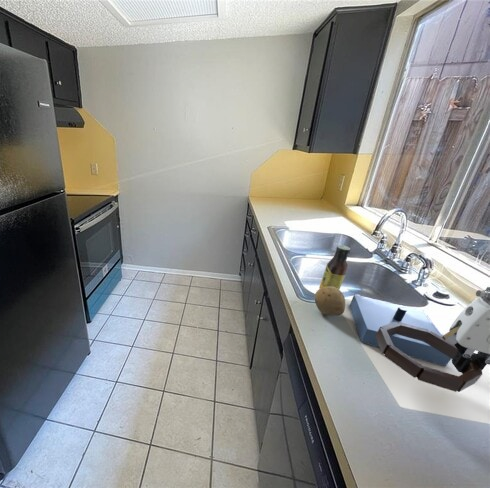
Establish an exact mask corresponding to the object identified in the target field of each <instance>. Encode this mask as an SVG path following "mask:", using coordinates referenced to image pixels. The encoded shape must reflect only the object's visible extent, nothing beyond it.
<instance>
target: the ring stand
mask: <svg viewBox="0 0 490 488" xmlns="http://www.w3.org/2000/svg"><path fill="white" fill-rule="evenodd" d="M349 310H350V312H351V316H352V318H353V322H354V324H355V327H356V330H357V334H358V336H359V339H360V342H361V343H363V344H367V345H369V346H374V347H377V348H380V347H379V345H378V342H377V340H376V337H375V336H376V334H377V332H378V330H379V328H380V327H381V326H384V325H387V324H390V323H393V322H401V323H405V324H409V325H412V326H416V327H420V328H424V329H428V330H429V331H432V332H434V333H436V334H438V335H439V336H441V337H443V334H442V333H441V331H439V329H438V327H436V325H435V324H434V322H433V321H432V320H431V318H430V317H429V315H427V313H426V312H425V310H422V309H418V308H415V307H414V308H413V307H410V306H405V305H401V304H397V303H392V302H388V301H384V300H381V299H380V300H379V299H375V298H371V297H368V296H362V295H358V294H353V296H352V298H351V301H350V303H349ZM390 338H391V341H392V343H393V345H394V346H395V347H396V348H398V349H399V350H401V351H402V352H404V353H405V354H407V355H408V356H410V357H411V358H413V359H414V358H415V359H418V360H422V361H425V362H428V363H432V364H434V365H438V366H442V367H447V366H448V365H449V363H450V361H452V359H451V358H450V357H448V356H446V355H445V354H443V353H442V352H440V351H438V350H437V349H435V348H433V347H432V346H430V345H428V344H427V343H425V342H423V341H420V340H416V339H412V338H409V337H405V336H401V335H398V334H395V335H392V336H390Z"/></svg>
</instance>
